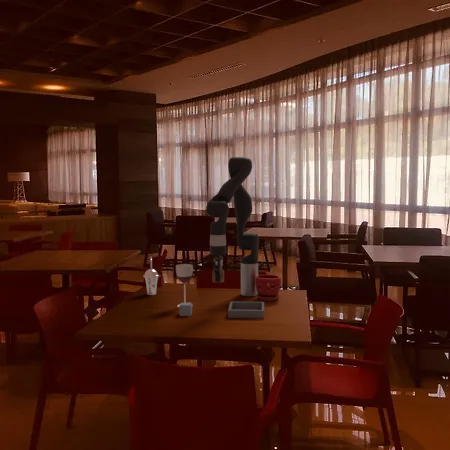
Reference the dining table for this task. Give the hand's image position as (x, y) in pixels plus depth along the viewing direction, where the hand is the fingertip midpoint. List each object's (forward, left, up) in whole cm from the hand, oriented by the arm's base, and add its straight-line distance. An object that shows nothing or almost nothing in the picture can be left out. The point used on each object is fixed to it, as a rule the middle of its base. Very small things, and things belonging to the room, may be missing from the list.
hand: (218, 280), depth 239 cm
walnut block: (0, 0, 0) cm, 0 cm away
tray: (+2, +13, -15) cm, 20 cm away
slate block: (+5, -15, -15) cm, 22 cm away
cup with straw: (-35, -40, -15) cm, 55 cm away
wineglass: (-11, -18, -15) cm, 26 cm away
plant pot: (-27, +23, -15) cm, 39 cm away
